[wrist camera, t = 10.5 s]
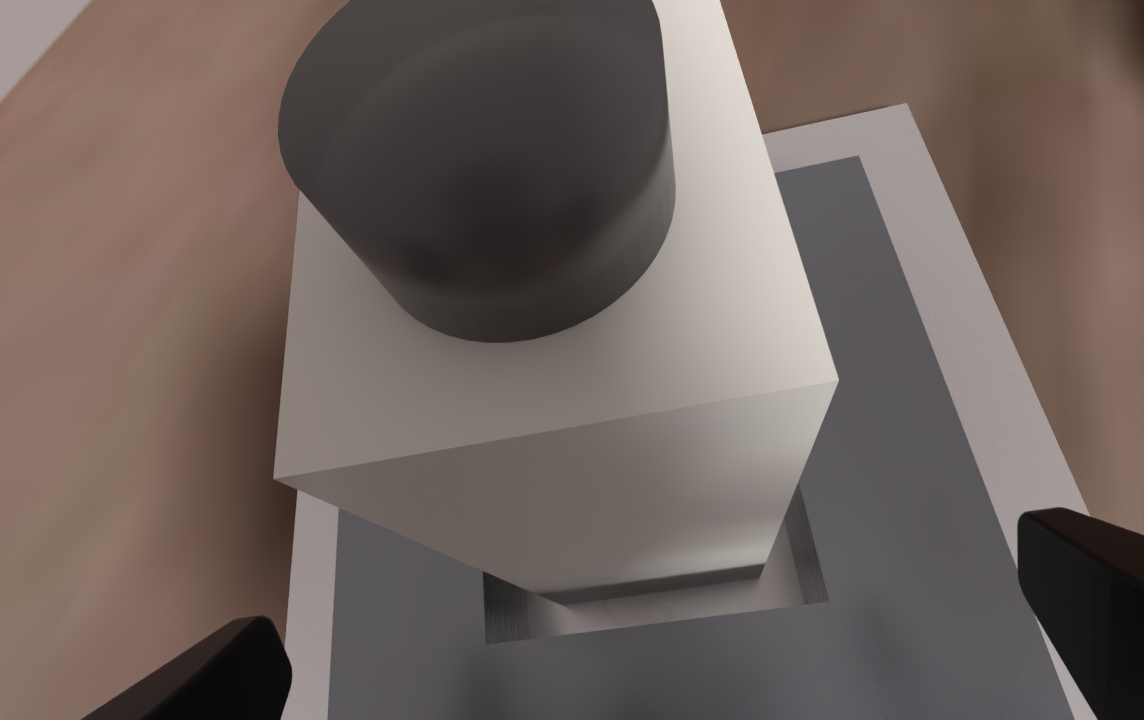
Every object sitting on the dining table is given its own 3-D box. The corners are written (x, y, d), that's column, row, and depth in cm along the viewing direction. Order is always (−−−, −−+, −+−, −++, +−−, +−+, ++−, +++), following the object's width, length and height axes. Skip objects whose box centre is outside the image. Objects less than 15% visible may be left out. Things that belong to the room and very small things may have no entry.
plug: (759, 578, 15) (884, 266, 3) (562, 605, 15) (124, 413, 4) (717, 393, 16) (713, -188, 5) (544, 423, 17) (216, -44, 6)
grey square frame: (1290, 1032, 11) (1567, 1205, 7) (273, 1071, 13) (110, 1215, 10) (899, 123, 20) (939, 2, 16) (331, 245, 22) (257, 163, 19)
